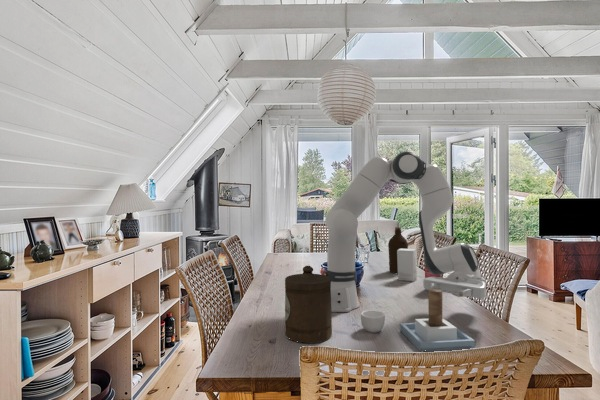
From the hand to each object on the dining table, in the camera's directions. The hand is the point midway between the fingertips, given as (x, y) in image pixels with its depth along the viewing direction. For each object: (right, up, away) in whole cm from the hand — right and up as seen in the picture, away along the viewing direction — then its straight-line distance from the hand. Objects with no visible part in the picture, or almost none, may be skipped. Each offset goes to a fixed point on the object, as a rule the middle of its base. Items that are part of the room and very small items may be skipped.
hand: (446, 291), depth 124 cm
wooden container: (-46, -13, -4) cm, 48 cm away
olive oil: (+6, -10, +86) cm, 87 cm away
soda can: (+12, -11, +47) cm, 50 cm away
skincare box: (+6, -11, +68) cm, 69 cm away
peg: (-7, -11, -9) cm, 16 cm away
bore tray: (-7, -12, -9) cm, 17 cm away
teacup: (-24, -13, 0) cm, 27 cm away
